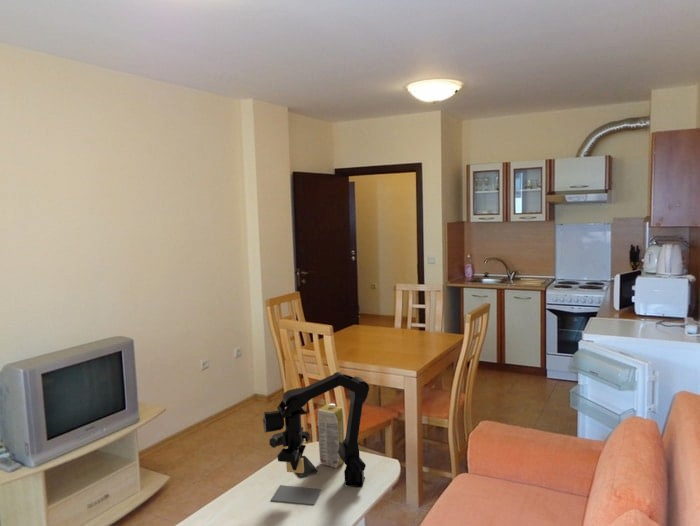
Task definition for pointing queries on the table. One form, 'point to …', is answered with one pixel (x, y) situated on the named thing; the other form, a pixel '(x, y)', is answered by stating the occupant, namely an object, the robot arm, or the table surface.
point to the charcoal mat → (296, 495)
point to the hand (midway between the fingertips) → (295, 468)
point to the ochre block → (299, 468)
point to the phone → (307, 468)
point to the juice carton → (330, 434)
